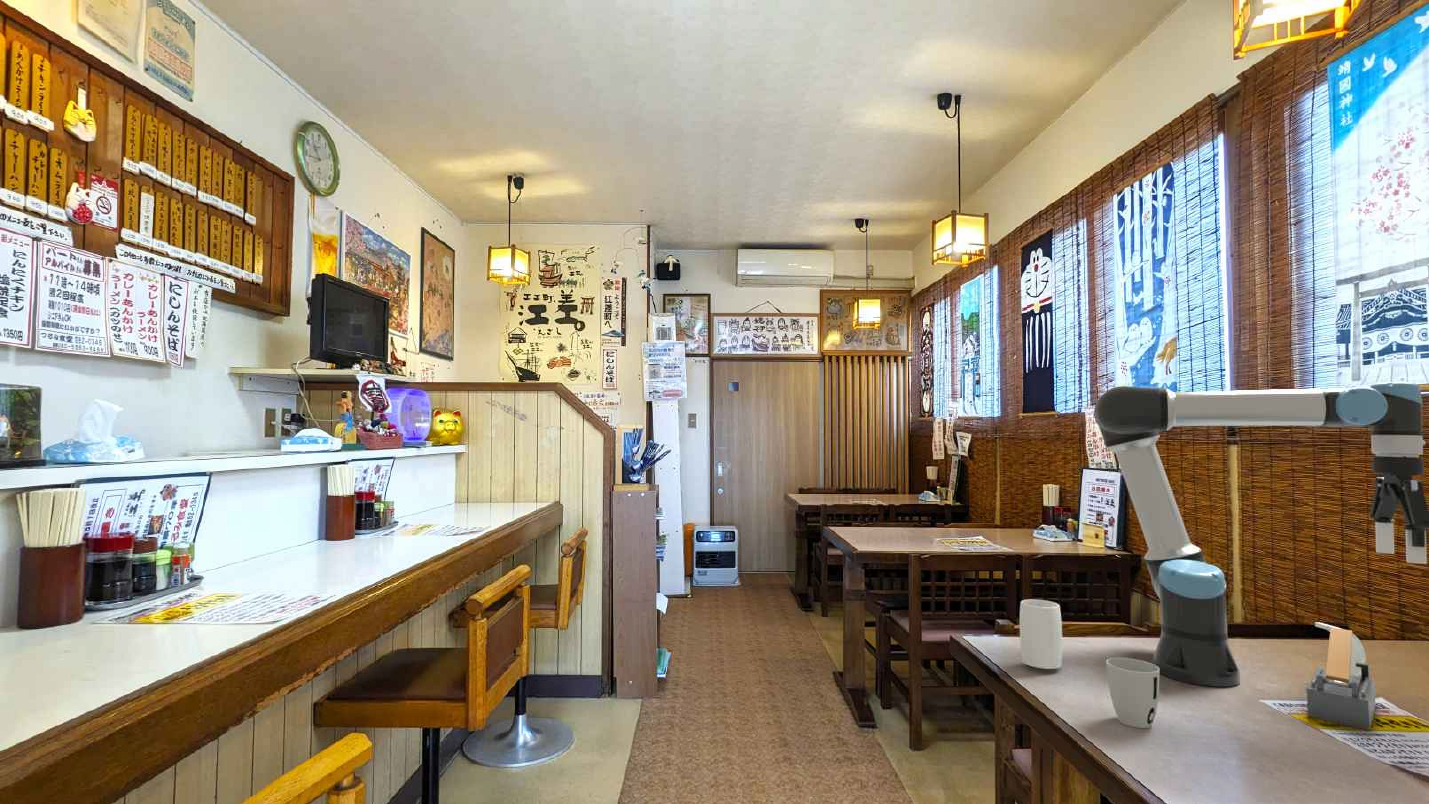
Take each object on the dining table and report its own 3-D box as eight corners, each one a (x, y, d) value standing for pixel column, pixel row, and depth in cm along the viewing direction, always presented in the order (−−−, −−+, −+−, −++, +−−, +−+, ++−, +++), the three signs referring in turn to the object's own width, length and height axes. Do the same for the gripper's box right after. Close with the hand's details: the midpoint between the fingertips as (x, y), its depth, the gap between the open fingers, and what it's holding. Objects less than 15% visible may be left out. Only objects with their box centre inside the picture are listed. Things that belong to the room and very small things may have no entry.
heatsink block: (1369, 730, 114) (1367, 685, 115) (1308, 716, 120) (1305, 673, 121) (1375, 706, 125) (1373, 665, 126) (1318, 694, 131) (1316, 655, 132)
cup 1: (1053, 678, 140) (1051, 610, 141) (1014, 667, 146) (1012, 602, 147) (1069, 669, 145) (1067, 603, 146) (1030, 659, 152) (1029, 597, 153)
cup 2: (1162, 735, 112) (1160, 675, 113) (1107, 725, 116) (1105, 667, 117) (1160, 719, 119) (1158, 662, 120) (1108, 709, 123) (1106, 654, 124)
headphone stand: (1317, 680, 139) (1314, 622, 140) (1344, 679, 139) (1340, 621, 140) (1340, 688, 134) (1337, 628, 135) (1367, 687, 135) (1363, 627, 135)
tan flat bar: (1349, 683, 119) (1348, 679, 118) (1326, 679, 121) (1326, 674, 121) (1352, 634, 127) (1351, 630, 126) (1331, 631, 129) (1330, 627, 129)
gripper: (1455, 457, 126) (1458, 570, 125) (1393, 455, 148) (1396, 551, 147) (1401, 456, 129) (1404, 565, 128) (1349, 454, 151) (1351, 547, 150)
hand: (1400, 558), depth 137 cm, fingers open, 13 cm apart
